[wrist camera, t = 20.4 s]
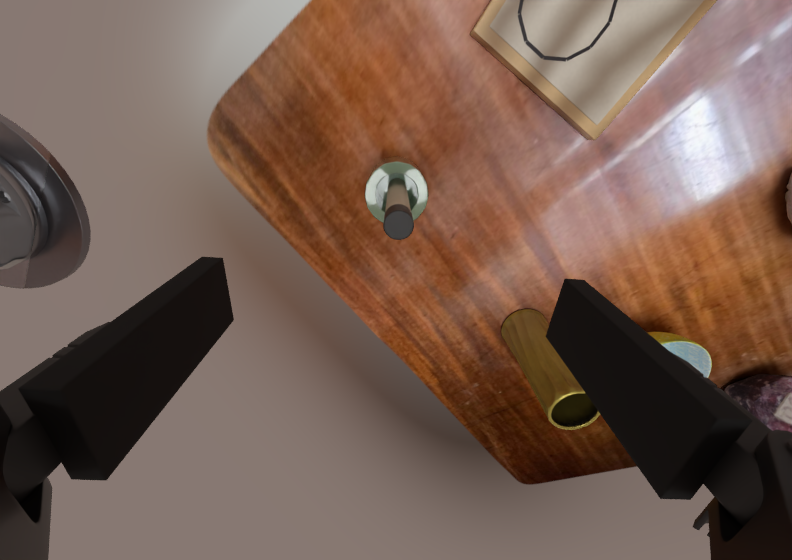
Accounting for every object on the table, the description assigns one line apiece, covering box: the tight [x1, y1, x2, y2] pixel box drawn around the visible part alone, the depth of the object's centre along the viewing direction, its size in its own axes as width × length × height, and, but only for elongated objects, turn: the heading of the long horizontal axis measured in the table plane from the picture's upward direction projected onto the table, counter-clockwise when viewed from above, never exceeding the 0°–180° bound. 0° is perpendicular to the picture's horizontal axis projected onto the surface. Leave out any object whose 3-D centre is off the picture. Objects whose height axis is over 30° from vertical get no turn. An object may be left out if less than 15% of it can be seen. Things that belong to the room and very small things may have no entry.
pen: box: [383, 178, 414, 240], centre depth 29 cm, size 2×2×15 cm
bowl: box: [647, 332, 712, 378], centre depth 43 cm, size 11×12×6 cm
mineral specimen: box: [724, 374, 792, 432], centre depth 45 cm, size 10×10×10 cm
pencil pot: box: [365, 156, 428, 223], centre depth 33 cm, size 6×6×6 cm
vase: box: [501, 309, 600, 430], centre depth 38 cm, size 6×6×14 cm
